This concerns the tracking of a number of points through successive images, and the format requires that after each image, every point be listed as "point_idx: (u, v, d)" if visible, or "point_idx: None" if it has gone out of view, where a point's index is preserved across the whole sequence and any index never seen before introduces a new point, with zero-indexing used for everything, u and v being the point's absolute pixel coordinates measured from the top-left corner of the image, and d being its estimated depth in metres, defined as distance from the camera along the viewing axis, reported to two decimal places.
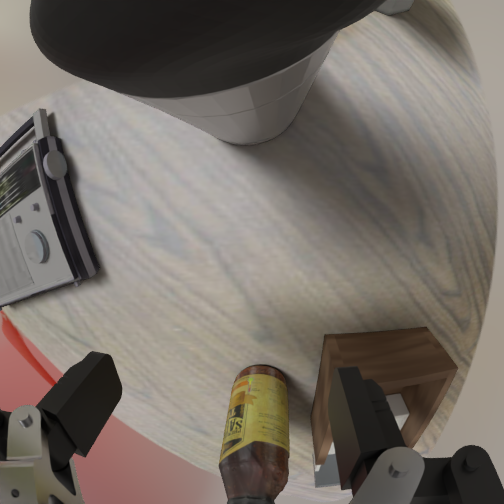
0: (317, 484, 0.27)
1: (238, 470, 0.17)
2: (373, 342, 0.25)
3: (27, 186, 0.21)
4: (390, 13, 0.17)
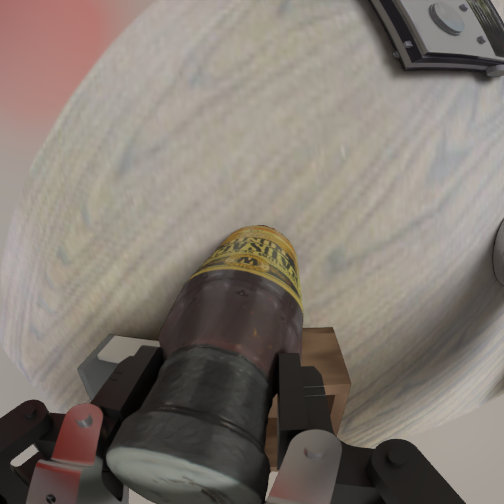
0: (85, 370, 0.20)
1: (284, 330, 0.10)
2: None
3: (492, 37, 0.12)
4: None
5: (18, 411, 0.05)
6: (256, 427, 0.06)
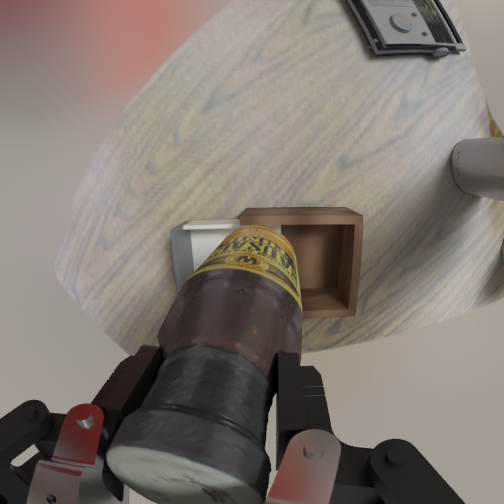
0: (176, 230, 0.32)
1: (284, 328, 0.10)
2: None
3: (434, 31, 0.24)
4: (502, 251, 0.36)
5: (18, 411, 0.05)
6: (256, 425, 0.06)
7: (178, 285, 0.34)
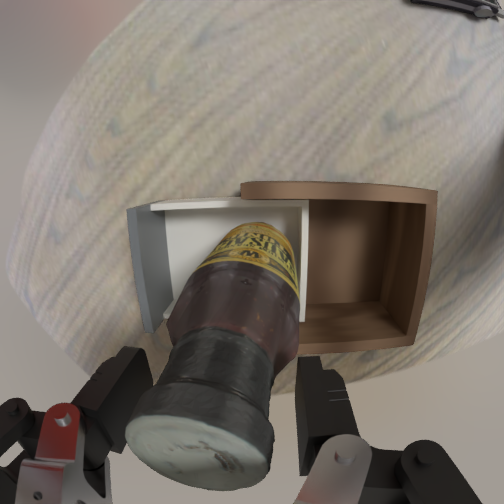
0: (137, 210, 0.19)
1: (284, 316, 0.11)
2: None
3: None
4: None
5: (1, 410, 0.05)
6: (261, 399, 0.07)
7: (141, 300, 0.20)
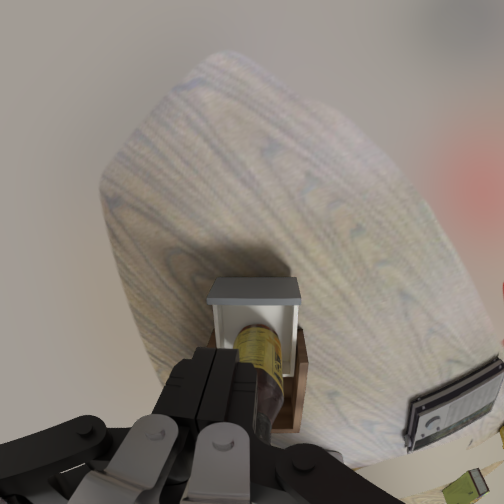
0: None
1: None
2: None
3: (423, 439, 0.40)
4: None
5: (71, 424, 0.05)
6: None
7: (234, 300, 0.29)
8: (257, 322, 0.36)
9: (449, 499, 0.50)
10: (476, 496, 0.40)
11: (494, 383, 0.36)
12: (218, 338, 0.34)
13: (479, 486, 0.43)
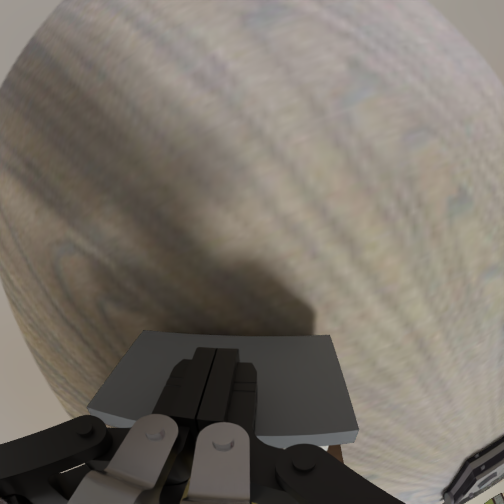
0: None
1: None
2: None
3: (469, 496, 0.18)
4: None
5: (71, 424, 0.05)
6: None
7: None
8: None
9: None
10: None
11: None
12: None
13: None
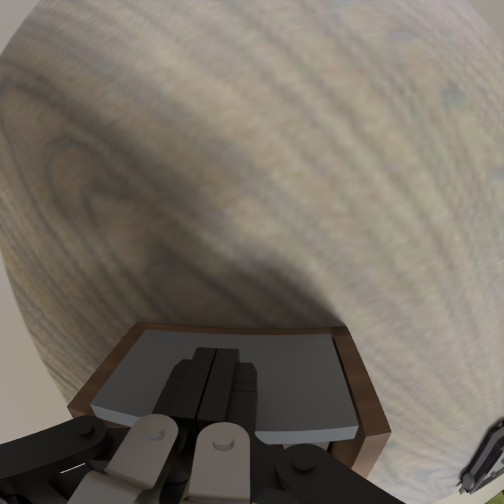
0: None
1: None
2: None
3: (490, 477, 0.16)
4: None
5: (71, 424, 0.05)
6: None
7: None
8: None
9: None
10: None
11: None
12: None
13: None
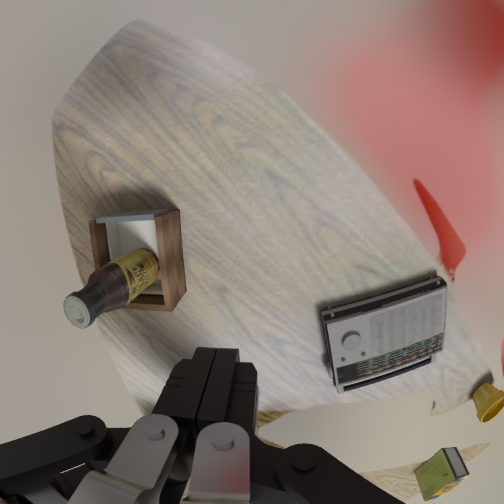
0: (153, 219, 0.37)
1: None
2: None
3: (347, 368, 0.45)
4: None
5: (71, 424, 0.05)
6: None
7: (111, 218, 0.37)
8: (143, 247, 0.44)
9: (422, 481, 0.56)
10: (452, 478, 0.45)
11: (433, 303, 0.41)
12: (111, 256, 0.41)
13: (455, 468, 0.49)
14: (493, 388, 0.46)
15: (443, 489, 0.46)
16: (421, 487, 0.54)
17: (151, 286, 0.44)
